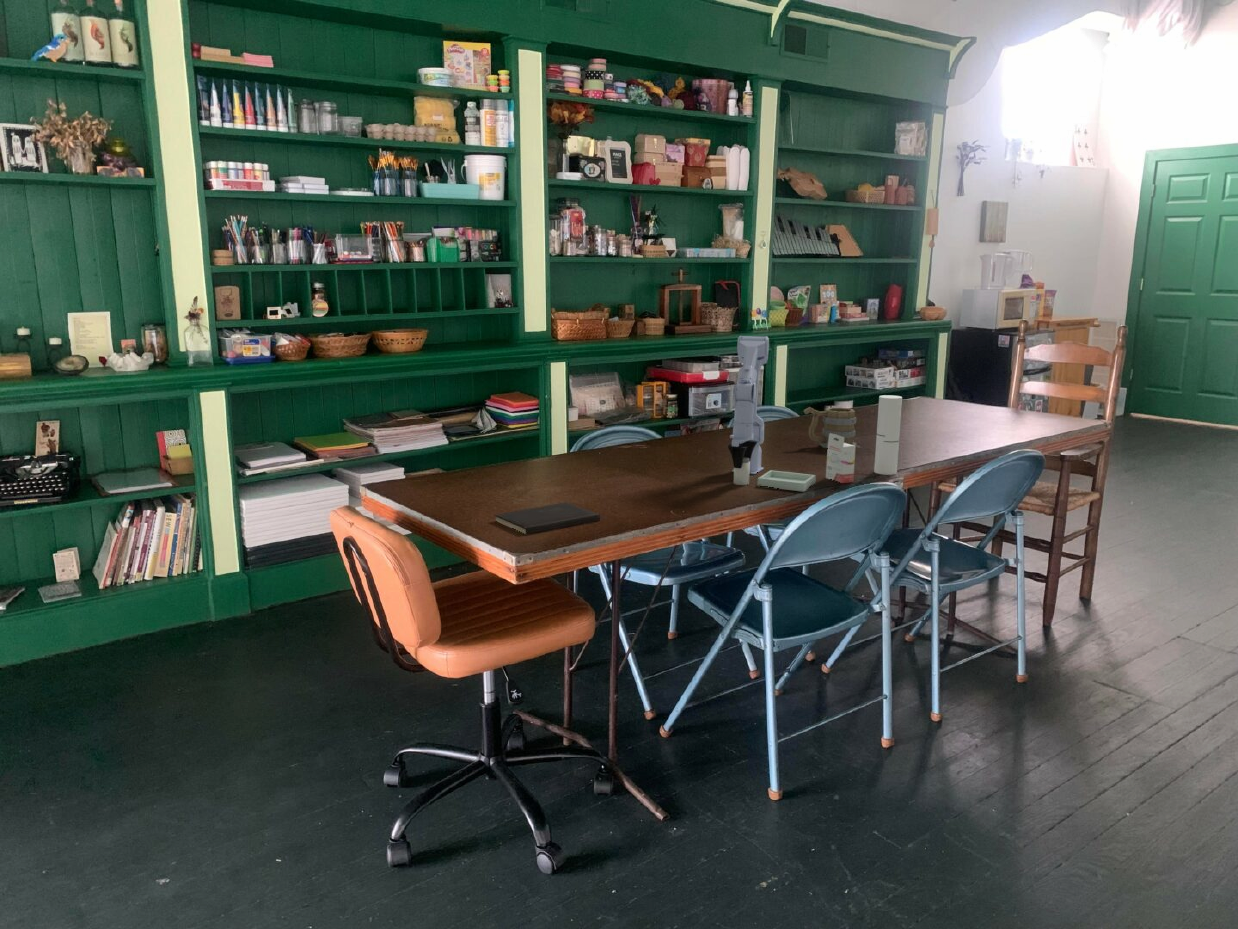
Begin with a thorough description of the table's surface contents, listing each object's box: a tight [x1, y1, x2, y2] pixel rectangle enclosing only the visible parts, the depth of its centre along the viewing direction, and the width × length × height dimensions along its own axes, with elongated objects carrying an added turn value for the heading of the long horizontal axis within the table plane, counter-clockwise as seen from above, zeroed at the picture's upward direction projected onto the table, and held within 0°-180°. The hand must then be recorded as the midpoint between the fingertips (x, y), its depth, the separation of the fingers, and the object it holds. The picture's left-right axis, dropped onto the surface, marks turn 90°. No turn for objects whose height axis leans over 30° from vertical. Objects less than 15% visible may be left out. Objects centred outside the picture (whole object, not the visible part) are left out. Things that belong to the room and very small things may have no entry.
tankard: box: [803, 406, 858, 449], centre depth 347 cm, size 20×13×15 cm, turn 92°
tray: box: [757, 470, 817, 493], centre depth 289 cm, size 13×15×2 cm
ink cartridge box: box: [825, 433, 856, 484], centre depth 295 cm, size 9×5×15 cm, turn 23°
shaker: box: [733, 457, 750, 486], centre depth 290 cm, size 5×5×8 cm
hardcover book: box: [493, 501, 601, 535], centre depth 248 cm, size 16×23×2 cm
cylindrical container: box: [873, 394, 903, 476], centre depth 305 cm, size 7×7×25 cm
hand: (741, 465), depth 290 cm, fingers open, 7 cm apart
